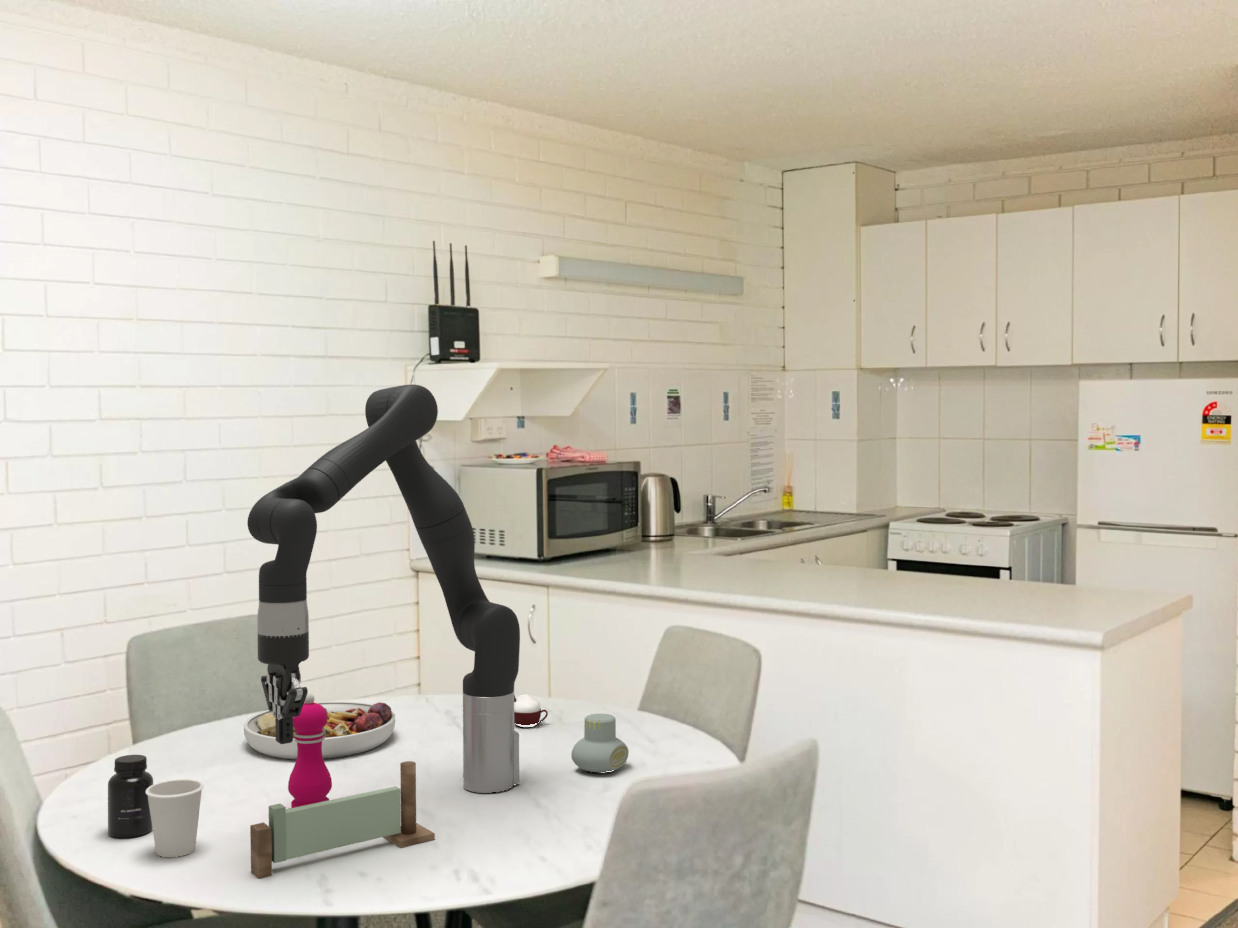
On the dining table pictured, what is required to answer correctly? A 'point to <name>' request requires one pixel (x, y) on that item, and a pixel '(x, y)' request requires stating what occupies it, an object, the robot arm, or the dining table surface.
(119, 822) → the supplement bottle
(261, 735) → the bowl
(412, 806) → the wooden pieces
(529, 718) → the cocoa
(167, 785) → the dixie cup
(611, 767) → the air freshener
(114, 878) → the dining table surface
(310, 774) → the pepper mill
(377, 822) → the panel
